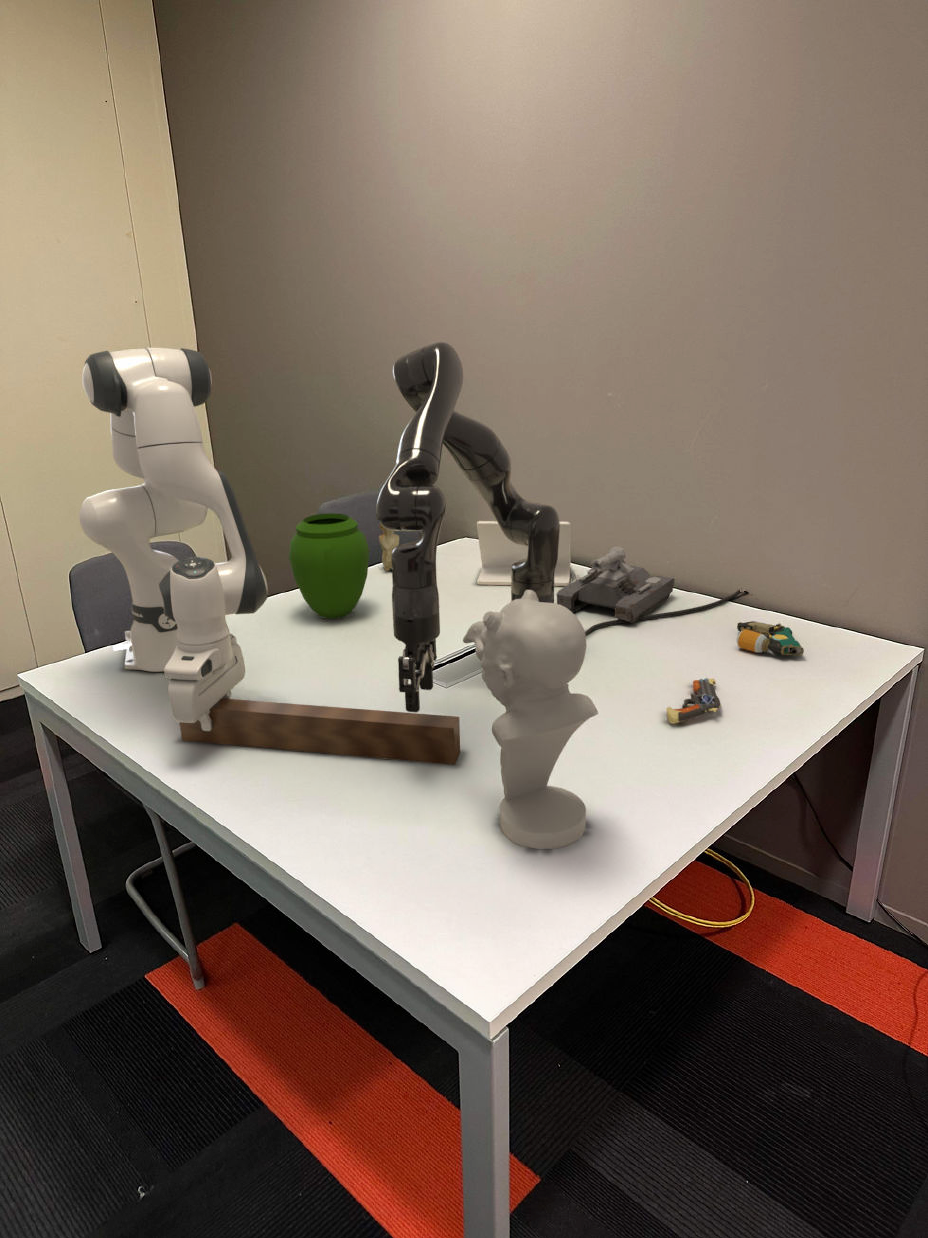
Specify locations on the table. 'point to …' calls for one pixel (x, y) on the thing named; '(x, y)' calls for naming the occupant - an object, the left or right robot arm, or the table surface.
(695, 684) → the toy gun
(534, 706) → the bust sculpture
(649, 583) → the toy
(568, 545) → the tablet stand
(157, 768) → the table surface
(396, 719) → the beam
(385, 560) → the sculpture
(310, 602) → the vase
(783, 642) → the spray gun
